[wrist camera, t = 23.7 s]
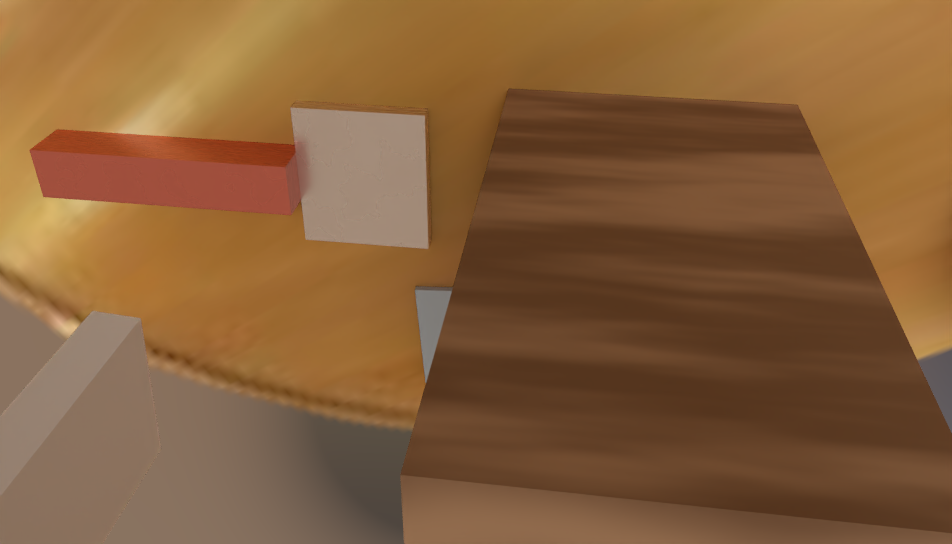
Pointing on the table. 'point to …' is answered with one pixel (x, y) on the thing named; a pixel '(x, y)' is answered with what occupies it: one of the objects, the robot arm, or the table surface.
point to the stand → (670, 344)
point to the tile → (431, 319)
